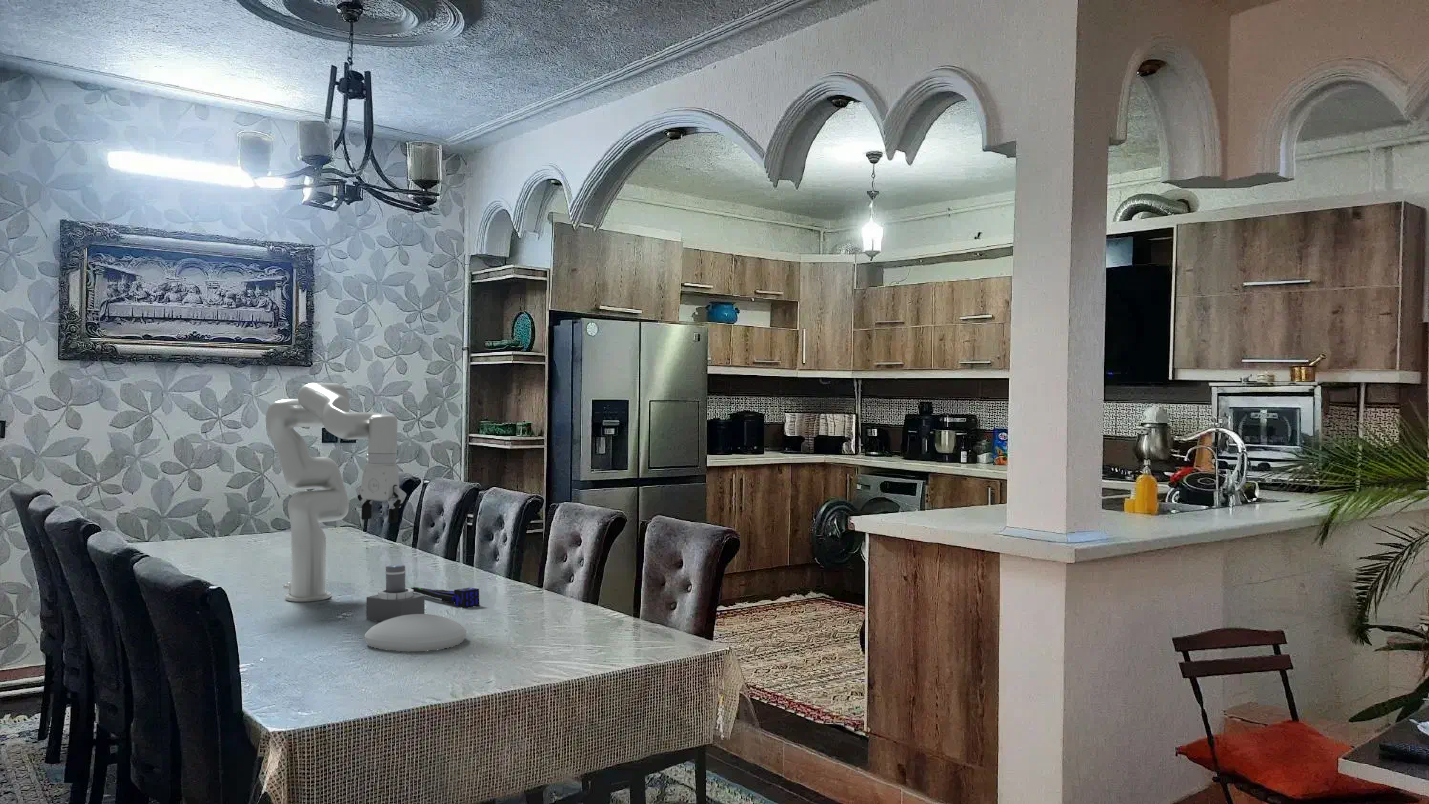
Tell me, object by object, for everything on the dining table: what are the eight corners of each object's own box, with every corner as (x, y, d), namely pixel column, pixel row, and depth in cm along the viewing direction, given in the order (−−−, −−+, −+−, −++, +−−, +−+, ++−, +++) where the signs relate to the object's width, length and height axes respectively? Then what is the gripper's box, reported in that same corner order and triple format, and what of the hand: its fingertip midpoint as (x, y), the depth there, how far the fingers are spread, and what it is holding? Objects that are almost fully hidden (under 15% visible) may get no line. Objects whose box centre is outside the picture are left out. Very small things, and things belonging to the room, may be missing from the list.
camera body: (366, 619, 272) (366, 591, 272) (390, 613, 280) (390, 586, 280) (401, 624, 267) (401, 595, 267) (424, 617, 275) (424, 589, 275)
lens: (381, 597, 272) (381, 566, 272) (394, 593, 277) (394, 563, 277) (396, 598, 270) (396, 567, 270) (409, 595, 275) (409, 565, 275)
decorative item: (434, 657, 234) (481, 638, 253) (434, 627, 234) (481, 611, 253) (350, 648, 242) (401, 630, 261) (350, 619, 242) (402, 603, 261)
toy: (405, 602, 307) (461, 609, 287) (404, 585, 307) (460, 591, 287) (430, 598, 313) (486, 604, 293) (429, 582, 313) (485, 587, 293)
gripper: (348, 457, 281) (346, 519, 281) (396, 462, 273) (394, 525, 274) (368, 456, 287) (365, 516, 288) (415, 461, 280) (413, 522, 281)
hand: (379, 520), depth 281 cm, fingers open, 9 cm apart
